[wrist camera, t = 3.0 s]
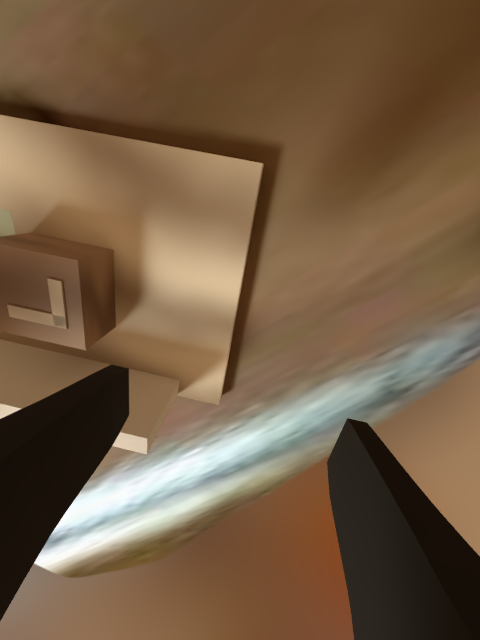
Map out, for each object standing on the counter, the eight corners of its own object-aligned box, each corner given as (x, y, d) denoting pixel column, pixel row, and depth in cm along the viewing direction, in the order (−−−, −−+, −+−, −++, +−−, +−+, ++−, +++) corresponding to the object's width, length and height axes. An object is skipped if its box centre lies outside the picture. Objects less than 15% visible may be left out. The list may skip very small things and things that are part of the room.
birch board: (221, 395, 20) (219, 405, 19) (-42, 335, 21) (-57, 341, 20) (263, 165, 13) (262, 163, 12) (-119, 94, 14) (-146, 87, 13)
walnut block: (115, 326, 17) (84, 351, 15) (43, 310, 18) (-2, 331, 15) (113, 249, 15) (76, 260, 12) (30, 232, 15) (-25, 239, 13)
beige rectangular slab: (178, 393, 19) (146, 454, 14) (-32, 345, 20) (-125, 388, 15) (179, 380, 18) (147, 438, 14) (-36, 331, 19) (-133, 371, 15)
